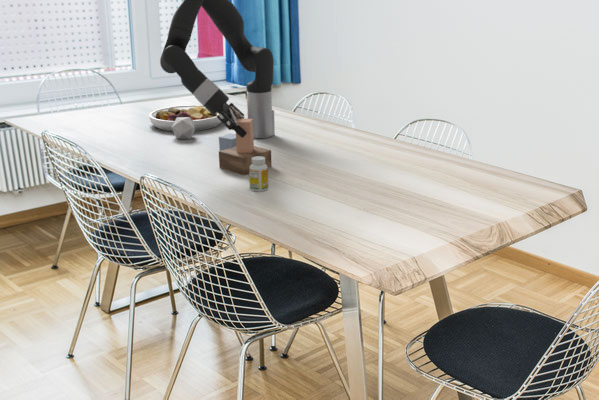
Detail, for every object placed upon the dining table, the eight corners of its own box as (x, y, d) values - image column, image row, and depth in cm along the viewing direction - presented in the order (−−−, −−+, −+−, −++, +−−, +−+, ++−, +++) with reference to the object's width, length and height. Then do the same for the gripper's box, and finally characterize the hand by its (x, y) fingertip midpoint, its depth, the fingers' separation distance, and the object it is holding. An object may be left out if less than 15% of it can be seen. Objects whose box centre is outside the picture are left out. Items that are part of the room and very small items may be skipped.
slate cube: (231, 149, 253) (230, 133, 251) (244, 152, 250) (243, 135, 248) (219, 153, 249) (218, 136, 247) (232, 156, 245) (231, 139, 243)
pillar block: (239, 148, 233) (238, 118, 229) (253, 148, 232) (252, 118, 229) (236, 152, 228) (235, 122, 225) (251, 152, 228) (250, 122, 224)
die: (185, 143, 264) (198, 121, 264) (165, 132, 264) (178, 109, 264) (188, 146, 272) (201, 124, 272) (169, 134, 272) (181, 112, 272)
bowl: (153, 117, 303) (152, 99, 300) (224, 115, 306) (223, 97, 303) (147, 135, 275) (145, 115, 272) (225, 132, 278) (224, 112, 275)
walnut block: (246, 161, 240) (245, 143, 238) (271, 167, 232) (271, 150, 230) (219, 169, 232) (218, 151, 230) (244, 176, 224) (243, 158, 222)
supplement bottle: (251, 192, 208) (250, 161, 205) (249, 186, 213) (247, 156, 210) (269, 191, 209) (268, 159, 206) (266, 185, 214) (266, 154, 211)
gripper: (212, 92, 218) (251, 129, 220) (223, 84, 231) (259, 119, 233) (197, 109, 220) (235, 146, 223) (208, 100, 234) (244, 134, 236)
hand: (247, 132), depth 228 cm, fingers open, 8 cm apart
